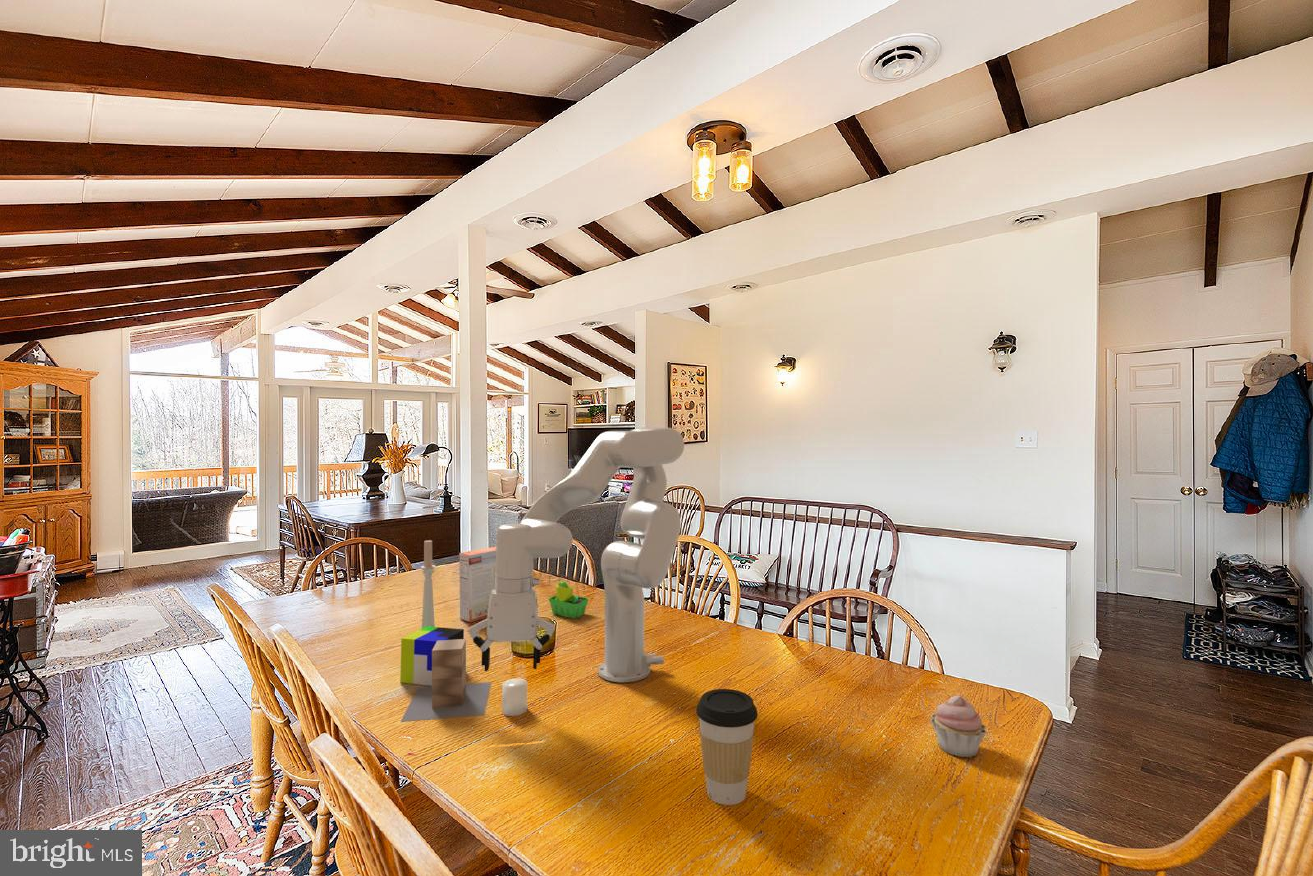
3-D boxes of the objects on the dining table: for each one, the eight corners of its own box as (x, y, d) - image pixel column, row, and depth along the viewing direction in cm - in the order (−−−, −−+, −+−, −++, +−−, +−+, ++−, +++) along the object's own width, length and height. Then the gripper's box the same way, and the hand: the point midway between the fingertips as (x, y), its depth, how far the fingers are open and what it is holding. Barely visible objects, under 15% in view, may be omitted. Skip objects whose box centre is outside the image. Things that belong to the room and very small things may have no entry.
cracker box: (497, 609, 192) (497, 545, 192) (508, 612, 188) (508, 547, 188) (458, 619, 181) (458, 552, 181) (469, 623, 177) (469, 554, 177)
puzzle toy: (439, 686, 132) (440, 641, 133) (400, 682, 134) (401, 638, 135) (462, 670, 142) (463, 629, 142) (425, 667, 144) (426, 626, 144)
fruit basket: (590, 614, 187) (590, 578, 187) (572, 621, 180) (572, 585, 180) (563, 608, 193) (563, 574, 193) (544, 615, 186) (544, 579, 186)
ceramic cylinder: (527, 705, 124) (527, 677, 124) (526, 717, 119) (526, 687, 119) (503, 707, 123) (503, 679, 123) (501, 719, 118) (501, 689, 118)
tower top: (465, 666, 129) (465, 639, 129) (461, 677, 123) (462, 648, 123) (437, 668, 128) (437, 640, 128) (432, 679, 122) (431, 650, 122)
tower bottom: (465, 693, 129) (465, 666, 129) (461, 705, 123) (461, 677, 123) (437, 695, 128) (437, 668, 128) (431, 708, 122) (432, 679, 122)
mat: (491, 683, 135) (491, 682, 135) (484, 716, 119) (484, 714, 119) (418, 689, 132) (418, 687, 132) (400, 723, 116) (400, 721, 116)
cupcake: (957, 767, 102) (957, 710, 102) (919, 740, 111) (919, 687, 111) (999, 759, 105) (1000, 703, 104) (959, 733, 114) (959, 682, 113)
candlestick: (455, 659, 150) (455, 541, 149) (400, 666, 145) (400, 545, 145) (452, 642, 162) (452, 533, 161) (402, 648, 157) (402, 536, 157)
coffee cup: (750, 774, 99) (751, 686, 99) (763, 812, 90) (763, 714, 89) (693, 775, 99) (693, 687, 99) (699, 813, 89) (699, 715, 89)
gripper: (556, 579, 126) (553, 659, 126) (472, 580, 123) (469, 662, 123) (556, 588, 119) (553, 673, 119) (467, 589, 116) (464, 676, 115)
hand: (511, 667), depth 121 cm, fingers open, 9 cm apart
